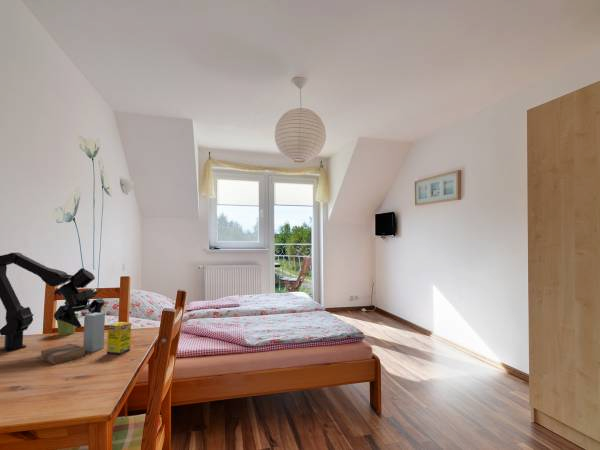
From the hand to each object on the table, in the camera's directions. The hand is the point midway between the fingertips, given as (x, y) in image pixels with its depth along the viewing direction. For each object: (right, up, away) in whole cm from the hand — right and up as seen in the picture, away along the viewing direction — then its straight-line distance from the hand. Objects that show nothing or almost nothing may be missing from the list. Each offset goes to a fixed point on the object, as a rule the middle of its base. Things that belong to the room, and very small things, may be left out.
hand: (91, 324), depth 134 cm
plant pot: (-25, -11, +22) cm, 35 cm away
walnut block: (-4, -9, -11) cm, 15 cm away
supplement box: (+14, -10, -5) cm, 17 cm away
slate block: (+2, -10, -1) cm, 10 cm away
